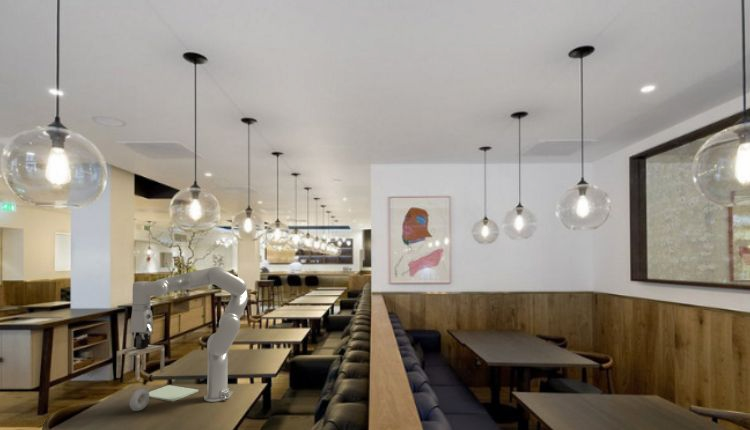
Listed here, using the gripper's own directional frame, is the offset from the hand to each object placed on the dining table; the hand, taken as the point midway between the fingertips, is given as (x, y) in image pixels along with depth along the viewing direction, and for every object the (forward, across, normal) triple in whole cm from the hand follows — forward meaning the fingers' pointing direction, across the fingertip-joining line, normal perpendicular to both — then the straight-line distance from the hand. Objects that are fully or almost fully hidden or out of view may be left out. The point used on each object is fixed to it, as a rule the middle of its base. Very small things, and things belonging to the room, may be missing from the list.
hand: (141, 346), depth 199 cm
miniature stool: (+13, 0, 0) cm, 13 cm away
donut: (+29, 0, 0) cm, 29 cm away
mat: (+29, +6, -22) cm, 37 cm away
